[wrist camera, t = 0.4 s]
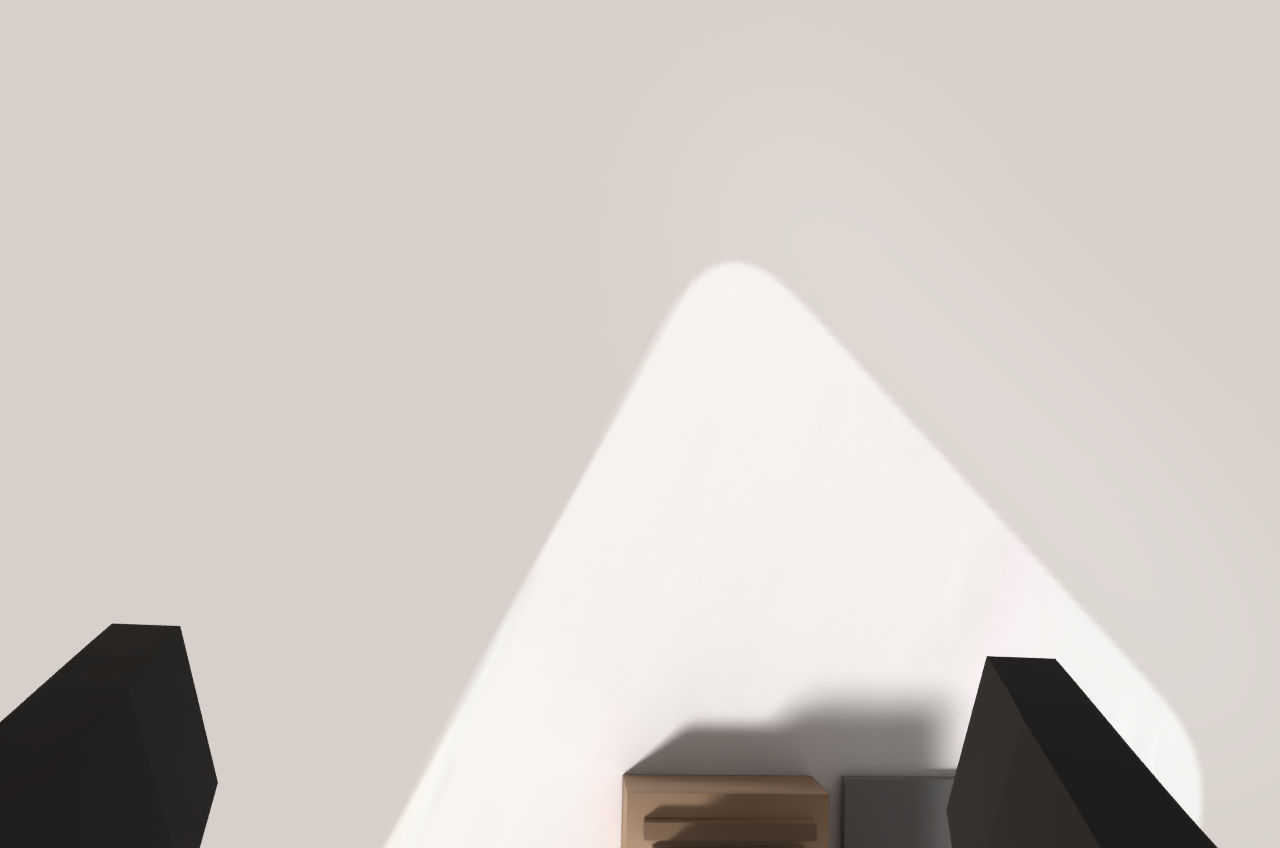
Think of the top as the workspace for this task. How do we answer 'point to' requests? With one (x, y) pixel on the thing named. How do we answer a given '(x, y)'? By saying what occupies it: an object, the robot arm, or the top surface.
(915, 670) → the top surface
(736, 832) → the body
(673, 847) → the lever cap
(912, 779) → the rubber mat
